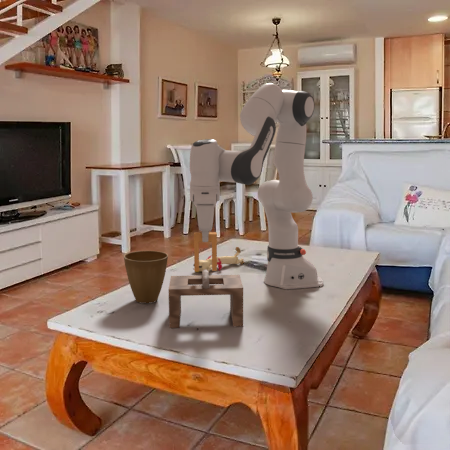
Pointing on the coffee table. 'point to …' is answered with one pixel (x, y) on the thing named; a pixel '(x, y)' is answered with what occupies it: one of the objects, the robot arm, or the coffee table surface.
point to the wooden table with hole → (205, 293)
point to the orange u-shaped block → (212, 238)
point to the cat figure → (220, 261)
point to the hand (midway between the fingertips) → (205, 240)
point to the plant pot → (146, 274)
